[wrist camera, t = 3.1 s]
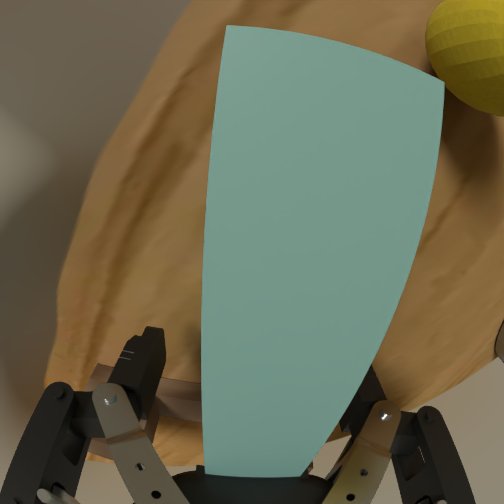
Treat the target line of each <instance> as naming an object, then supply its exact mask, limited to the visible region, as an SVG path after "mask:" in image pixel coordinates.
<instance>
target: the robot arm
mask: <svg viewBox="0 0 504 504" xmlns="http://www.w3.org/2000/svg"><path fill="white" fill-rule="evenodd" d="M495 351H496V354H497V355H498V357H499V358H500V359H501V360H502V362H503V363H504V323H503V325H502V328H501V330H500V332H499V335H498V338H497V342H496V348H495ZM165 362H166V348H165V338H164V330H163V329H162V328H156V327H150V326H147V327H146V328H145V330H144V332H143V334H142V336H137V335H135V336H133V337H132V338H131V339H130V340H128V341H127V343H126V345H125V347H124V349H123V351H122V352H121V354H120V358H118V360H117V363H116V365H115V367H114V369H113V371H112V373H111V375H110V377H109V379H108V381H107V383H105V384H101V385H99V386H98V387H97V388H96V389H95V390H94V391H89V392H85V391H73V389H72V388H71V386H70V385H68V384H67V383H64V382H55V383H52V384H50V385H49V386H48V387H47V388H46V389H45V391H44V393H43V395H42V397H41V399H40V400H39V402H38V404H37V406H36V408H35V410H34V412H33V414H32V416H31V418H30V421H29V423H28V425H27V427H26V429H25V431H24V433H23V435H22V438H21V440H20V442H19V445H18V447H17V449H16V452H15V454H14V457H13V459H12V462H11V464H10V467H9V469H8V472H7V475H6V478H5V480H4V484H3V486H2V490H1V493H0V504H80V503H79V502H78V501H77V500H76V499H75V494H76V490H77V486H78V482H79V479H80V475H81V472H82V468H83V465H84V462H85V458H86V455H87V452H88V449H89V445H90V442H91V439H92V438H106V440H107V441H106V443H107V446H108V448H109V451H110V453H111V456H112V458H113V460H114V462H115V464H116V467H117V469H118V471H119V473H120V475H121V477H122V479H123V481H124V483H125V485H126V487H127V489H128V491H129V493H130V495H131V496H132V498H133V500H134V503H133V504H370V503H371V501H372V499H373V497H374V495H375V493H376V491H377V489H378V487H379V484H380V482H381V480H382V477H383V475H384V473H385V471H386V469H387V466H388V464H389V461H390V459H392V462H393V466H394V470H395V474H396V478H397V482H398V486H399V490H400V494H401V498H402V503H403V504H476V503H475V500H474V496H473V493H472V490H471V487H470V484H469V482H468V479H467V476H466V473H465V470H464V468H463V465H462V462H461V460H460V457H459V454H458V452H457V449H456V447H455V445H454V442H453V440H452V437H451V435H450V433H449V430H448V428H447V426H446V424H445V422H444V420H443V417H442V415H441V413H440V412H439V411H438V410H437V409H436V408H434V407H432V406H424V407H422V408H420V410H419V411H418V412H417V413H412V412H404V411H400V409H399V407H398V406H397V405H396V404H395V403H393V402H391V401H388V400H387V399H386V396H385V394H384V392H383V389H382V387H381V385H380V382H379V380H378V378H377V377H376V373H375V371H373V367H372V364H371V365H370V367H369V369H368V371H367V373H366V375H365V377H364V379H363V381H362V383H361V384H360V386H359V388H358V390H357V392H356V393H355V395H354V397H353V399H352V400H351V402H350V404H349V406H348V407H347V409H346V411H345V412H344V414H343V416H342V417H341V419H340V420H339V423H340V427H341V431H342V432H351V435H352V436H351V438H350V439H349V441H348V443H347V444H346V446H345V448H344V450H343V452H342V453H341V455H340V457H339V458H338V460H337V462H336V463H335V465H334V467H333V468H332V470H331V471H330V472H329V473H328V475H327V476H326V477H325V479H323V478H321V477H318V476H314V475H309V474H308V468H306V469H305V471H304V472H303V473H302V475H301V476H297V477H236V476H222V475H212V474H205V466H202V465H197V466H196V471H188V472H183V473H180V474H177V475H175V476H172V477H171V475H170V474H169V472H168V471H167V470H166V467H165V466H164V464H163V463H162V461H161V459H160V458H159V456H158V454H157V452H156V451H155V449H154V447H153V445H152V444H151V442H150V440H149V438H148V436H147V434H146V433H145V431H144V430H143V429H142V427H141V425H140V423H139V422H140V419H142V420H147V421H148V419H149V415H150V412H151V408H152V405H153V402H154V398H155V395H156V392H157V389H158V385H159V382H160V379H161V376H162V373H163V369H164V366H165ZM420 449H421V451H420ZM421 452H422V454H421ZM422 455H423V457H422ZM423 458H424V460H423ZM424 462H425V463H424Z"/></svg>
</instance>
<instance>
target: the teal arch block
mask: <svg viewBox="0 0 504 504" xmlns="http://www.w3.org/2000/svg"><path fill="white" fill-rule="evenodd" d="M443 105H444V82H443V81H441V80H439V79H437V78H435V77H433V76H431V75H429V74H427V73H425V72H422V71H420V70H418V69H416V68H413V67H411V66H409V65H406V64H404V63H401V62H399V61H396V60H394V59H391V58H388V57H386V56H383V55H380V54H377V53H374V52H371V51H368V50H365V49H362V48H359V47H355V46H352V45H348V44H345V43H341V42H337V41H333V40H329V39H325V38H320V37H316V36H311V35H306V34H301V33H295V32H289V31H282V30H275V29H267V28H258V27H246V26H230V25H227V27H226V33H225V39H224V46H223V53H222V59H221V66H220V74H219V81H218V89H217V97H216V105H215V114H214V123H213V132H212V142H211V152H210V163H209V175H208V188H207V201H206V216H205V233H204V253H203V277H202V314H201V389H202V425H203V447H204V464H205V474H212V475H222V476H236V477H297V476H301V475H302V473H303V472H304V471H305V469H306V468H307V467H308V466H309V464H310V463H311V462H312V460H313V459H314V457H315V456H316V454H317V453H318V452H319V450H320V449H321V448H322V446H323V445H324V443H325V442H326V440H327V439H328V437H329V436H330V434H331V433H332V431H333V430H334V428H335V427H336V425H337V424H338V422H339V420H340V419H341V417H342V416H343V414H344V412H345V411H346V409H347V407H348V406H349V404H350V402H351V400H352V399H353V397H354V395H355V393H356V392H357V390H358V388H359V386H360V384H361V383H362V381H363V379H364V377H365V375H366V373H367V371H368V369H369V367H370V365H371V363H372V361H373V359H374V357H375V355H376V353H377V351H378V349H379V347H380V345H381V343H382V340H383V338H384V336H385V334H386V331H387V329H388V327H389V325H390V322H391V320H392V317H393V315H394V313H395V310H396V308H397V305H398V302H399V300H400V297H401V295H402V292H403V289H404V287H405V284H406V281H407V278H408V275H409V272H410V269H411V266H412V263H413V260H414V257H415V254H416V250H417V247H418V244H419V240H420V237H421V233H422V229H423V226H424V222H425V218H426V214H427V210H428V206H429V201H430V197H431V192H432V187H433V182H434V177H435V171H436V165H437V159H438V152H439V145H440V137H441V129H442V118H443Z"/></svg>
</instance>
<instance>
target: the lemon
mask: <svg viewBox="0 0 504 504" xmlns="http://www.w3.org/2000/svg"><path fill="white" fill-rule="evenodd" d="M425 43H426V50H427V54H428V58H429V60H430V63H431V65H432V67H433V69H434V71H435V73H436V74H437V76H438V78H439V79H440V80H441V81H443V82H444V85H445V86H446V88H447V89H448V90H449V91H450V92H451V93H453V94H454V95H455V96H456V97H457V98H458V99H460V100H461V101H462V102H464V103H466V104H468V105H469V106H471V107H473V108H474V109H477V110H479V111H482V112H486V113H489V114H493V115H497V116H503V117H504V0H445V1H443V2H442V3H440V4H439V5H438V6H437V7H436V9H435V10H434V12H433V13H432V15H431V16H430V18H429V20H428V22H427V27H426V32H425Z"/></svg>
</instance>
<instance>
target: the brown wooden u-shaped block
mask: <svg viewBox="0 0 504 504" xmlns="http://www.w3.org/2000/svg"><path fill="white" fill-rule="evenodd" d="M113 369H114V368H113V367H109V366H105V365H102V364H97V366H96V367H95V369H94V371H93V373H92V375H91V377H90V379H89V380H88V382H87V384H86V386H85V388H84V390H83V391H85V392H89V391H94V390H95V389H96V388H97V387H98V386H99V385H101V384H105V383H107V381H108V379H109V377H110V375H111V373H112V371H113ZM159 416H164V417H170V418H175V419H182V420H188V421H195V422H202V389H201V384H199V383H192V382H185V381H178V380H172V379H166V378H161V379H160V382H159V385H158V389H157V392H156V395H155V398H154V402H153V405H152V408H151V412H150V415H149V419H148V421H147V420H142V419H140V422H139V423H140V425H141V427H142V429H143V430H144V431H145V433H146V434H147V436H148V438H149V440H150V442H151V444H152V443H153V439H154V435H155V431H156V428H157V424H158V420H159ZM106 441H107V440H106V438H92V439H91V442H90V445H89V449H88V452H90V453H93V454H96V455H99V456H102V457H105V458H108V459H111V460H113V458H112V456H111V453H110V451H109V448H108V446H107V443H106ZM307 468H308V473H309V472H310V471H311V470H312V469H313V462H311V463H310V464H309V466H308V467H307Z"/></svg>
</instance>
